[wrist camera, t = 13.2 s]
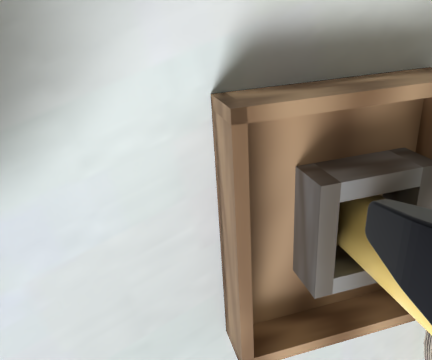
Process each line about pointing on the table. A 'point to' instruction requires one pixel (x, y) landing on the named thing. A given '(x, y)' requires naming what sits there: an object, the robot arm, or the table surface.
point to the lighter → (428, 346)
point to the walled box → (312, 203)
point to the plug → (370, 252)
